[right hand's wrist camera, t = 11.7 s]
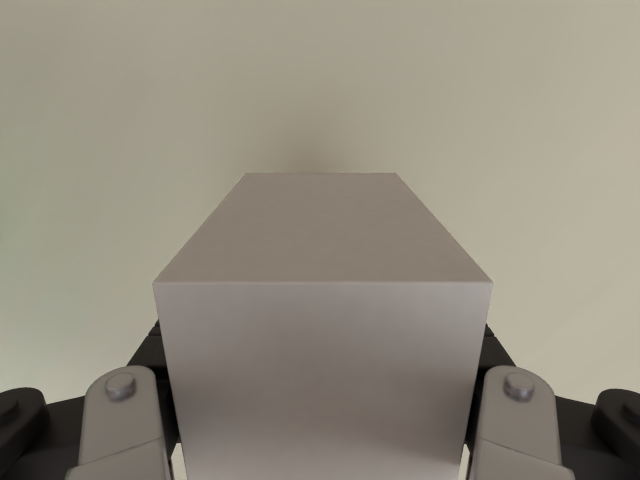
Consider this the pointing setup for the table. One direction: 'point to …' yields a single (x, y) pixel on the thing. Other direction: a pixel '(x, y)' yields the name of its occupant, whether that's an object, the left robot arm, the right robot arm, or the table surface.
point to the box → (322, 333)
